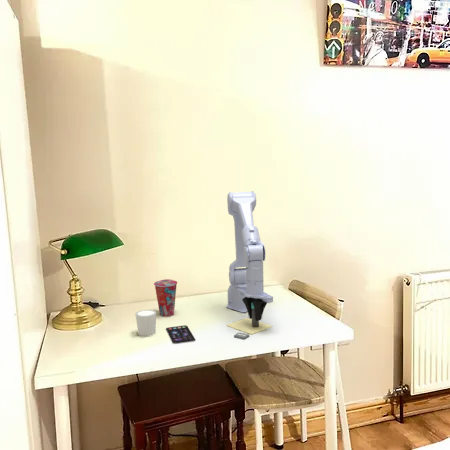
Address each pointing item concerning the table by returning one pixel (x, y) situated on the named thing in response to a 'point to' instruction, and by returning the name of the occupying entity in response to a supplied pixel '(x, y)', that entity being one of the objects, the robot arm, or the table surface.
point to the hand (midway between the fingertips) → (255, 319)
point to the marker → (254, 322)
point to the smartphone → (180, 334)
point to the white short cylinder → (146, 322)
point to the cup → (166, 296)
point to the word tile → (241, 336)
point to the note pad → (248, 326)
